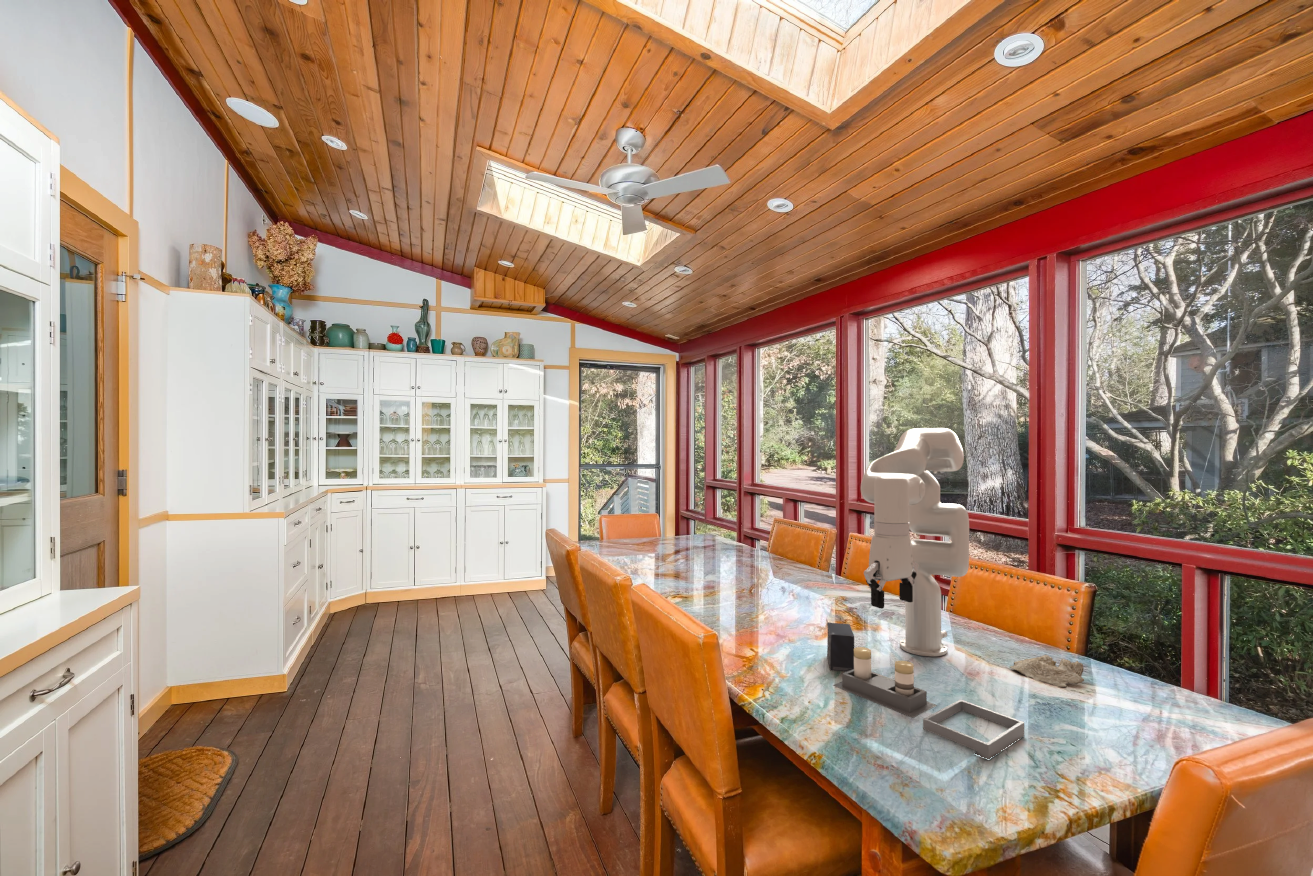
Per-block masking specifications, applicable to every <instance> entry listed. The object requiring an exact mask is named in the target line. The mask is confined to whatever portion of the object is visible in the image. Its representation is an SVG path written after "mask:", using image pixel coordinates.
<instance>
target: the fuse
mask: <svg viewBox="0 0 1313 876" xmlns="http://www.w3.org/2000/svg"><path fill="white" fill-rule="evenodd" d="M871 671H872V649H870V648H868V647H864V646H857V647H854V677H857V678H859V679H862V680H865V681H866V680H869V679H871Z"/></svg>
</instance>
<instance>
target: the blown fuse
mask: <svg viewBox="0 0 1313 876" xmlns="http://www.w3.org/2000/svg"><path fill="white" fill-rule="evenodd" d="M914 666H915V665H914V663H912V662H911V661H906V660H895V661H894V680H895V692H896V693H899V694H902V695H904V696H907V697H910V696H912V695H914V687H915V680H914V679H915V678H914V676H915V671H914V670H915V669H914V668H915V667H914Z"/></svg>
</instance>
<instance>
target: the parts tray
mask: <svg viewBox="0 0 1313 876" xmlns="http://www.w3.org/2000/svg"><path fill="white" fill-rule="evenodd" d="M961 711H963V712H965V713H968V714H971V715H973V716H976V717H979V718H982V719H984V720H987V721H989V722H992V723H995V724H998V725H1000V726H1003V727H1005V728H1008V729H1006V730H1005V731H1003V732H1002V733H1000V734H999V735H997V736H995V737H994V738H992V739H991V740H989V741H987V742H985V741H983V740H981V739H978V738H976V737H973V736H970V735H969V734H965V733H963V732H961V731H958V730H955V729H953V728H950V727H948V726H946V725H943V724H940V723H941V722H943V721H944V720H945V721H946V719H949V718H950V717H952V716H954V715H956V714H958V713H959V712H961ZM922 729H923V730H925V731H928V732H930V733H933V734H935V735H938V736H939V737H942V738H944V739H947V740H949V741H952V742H954V743H955V744H958V745H961V746H963V747H966V748H969V749H971V750H973V751H975V752H974V753H975V754H977V755H980V756H981V757H984V758H987V759H990V758H991V757H993V756H995V755H996V754H998V753H1000V752H1001V750H1003V749H1005V748H1006V747H1008V746H1009V745H1011V744H1012V743H1014V742H1015V741H1017V740H1018V739H1020V738H1021V737H1023V736H1024V737H1025V721H1022V720H1019V719H1017V718H1014V717H1011V716H1008V715H1006V714H1002V713H1000V712H997V711H994V710H992V709H989V708H985V707H983V706H980V705H978V704H974V703H971V702H969V701H966V700H963V699H958V700H957V701H955V702H953V703H951V704H949V705H947V706H945V707H943V708H941V709H939V710H937V711H936V712H933V713H931V714H930V715H927V716H926V717H924V718H922ZM1024 737H1023V738H1024ZM1020 740H1021V739H1020ZM1017 742H1018V741H1017ZM1014 744H1015V743H1014ZM1011 746H1012V745H1011ZM1008 748H1009V747H1008ZM1005 750H1006V749H1005ZM1001 753H1002V752H1001ZM1001 753H1000V754H1001ZM998 755H999V754H998ZM981 757H980V758H981ZM995 757H996V756H995Z"/></svg>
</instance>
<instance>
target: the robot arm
mask: <svg viewBox="0 0 1313 876" xmlns="http://www.w3.org/2000/svg"><path fill="white" fill-rule="evenodd" d="M959 439H960V438H959V437H958V435H957V434H956V433H955V432H954V431H953V430H951V429H950V428H947V427H946V428H945V427H933V428H932V427H931V428H930V427H920V428H918V427H917V428H911V429H907V430H905V431H904V432H903V433H902V434H901V436H900V437H899V440H898V442H897V444H896V447H895V449H894V451H892V452H890V453H887V454H885V455H883V456H881V457H878V458H876V459H875V460H873V461H871V462H870V463H869V464H868V466H867V467H866V469H865V471H864V474H863V475H862V479H861V483H860V493H861V496H862V498H863V500H864V501H866V502H868V503H871V504H874V506H873V507H874V510H873V511H874V521H873V523H874V528H873V529H874V532H873V533H874V535H872V536H871V541H870V546H869V547H870V548H869V557H868V567H867V568H866V569H865V570H864V571H863V575H864V578H865V581H866V583H867V585H868V588H869V589H870V605H871V606H872V607H874V608H878V609H880V610H883V609H884V608H885V590H883V588H884V586H885V585H886V583H887V582H892V581H898V580H899V581H901V582H899V586H898V588H899V590H898V591H899V600H900V601H904V605H905V607H904V610H905V612H904V614H905V615H904V619H905V621H904V623H905V625H904V629H905V633H904V635H905V637H904V638H903V639H901V640H900V641H899V647H900V649H901V650H903V651H905V652H907V653H910V654H913V655H917V656H922V657H941V656H944V655H947V653H948V647H947V645H946V644H944V643H942V640H943V639H944V638H947V636H948V632H947V631H946V630H942V590H941V587H940V584H938V582H937V580H936V579H935V578H934V576H933V575H935V576H937V575H938V576H946V577H957V578H958V577H959V578H960V577H964V576H966V575H967V574H968V571H969V566H970V518H969V513H968V510H967V509H966V507H964V506H963V505H961V504H959V503H958V504H957V503H950V502H949V503H948V502H947V503H944V502H943V503H942V502H941V484H940V483H939V481H938V480H937V479H936V477H935V476H934V475H933V474H932V473H931V472H956V471H959V470H960V469H961V468H962V467H963V465H964V457H965V456H964V449H963V446H962V444H961V441H960V440H959ZM910 531H911V533H913V534H917V535H920V536H921V535H922V536H923V535H924V536H930V537H931V536H934V537H946V538H949V540H950V541H942V540H933V539H930V540H929V539H921V538H920V539H917V538H916V539H911V535H910ZM878 581H879V582H878Z"/></svg>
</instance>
